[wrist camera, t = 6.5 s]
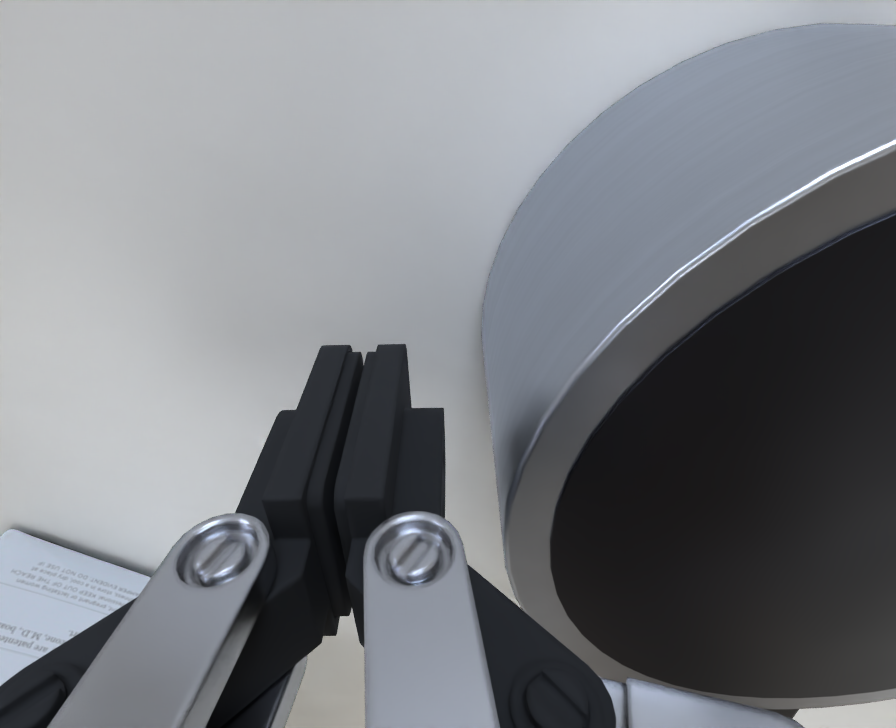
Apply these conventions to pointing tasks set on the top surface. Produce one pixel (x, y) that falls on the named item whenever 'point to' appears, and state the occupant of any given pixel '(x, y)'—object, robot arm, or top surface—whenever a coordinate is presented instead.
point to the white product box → (53, 597)
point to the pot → (711, 377)
